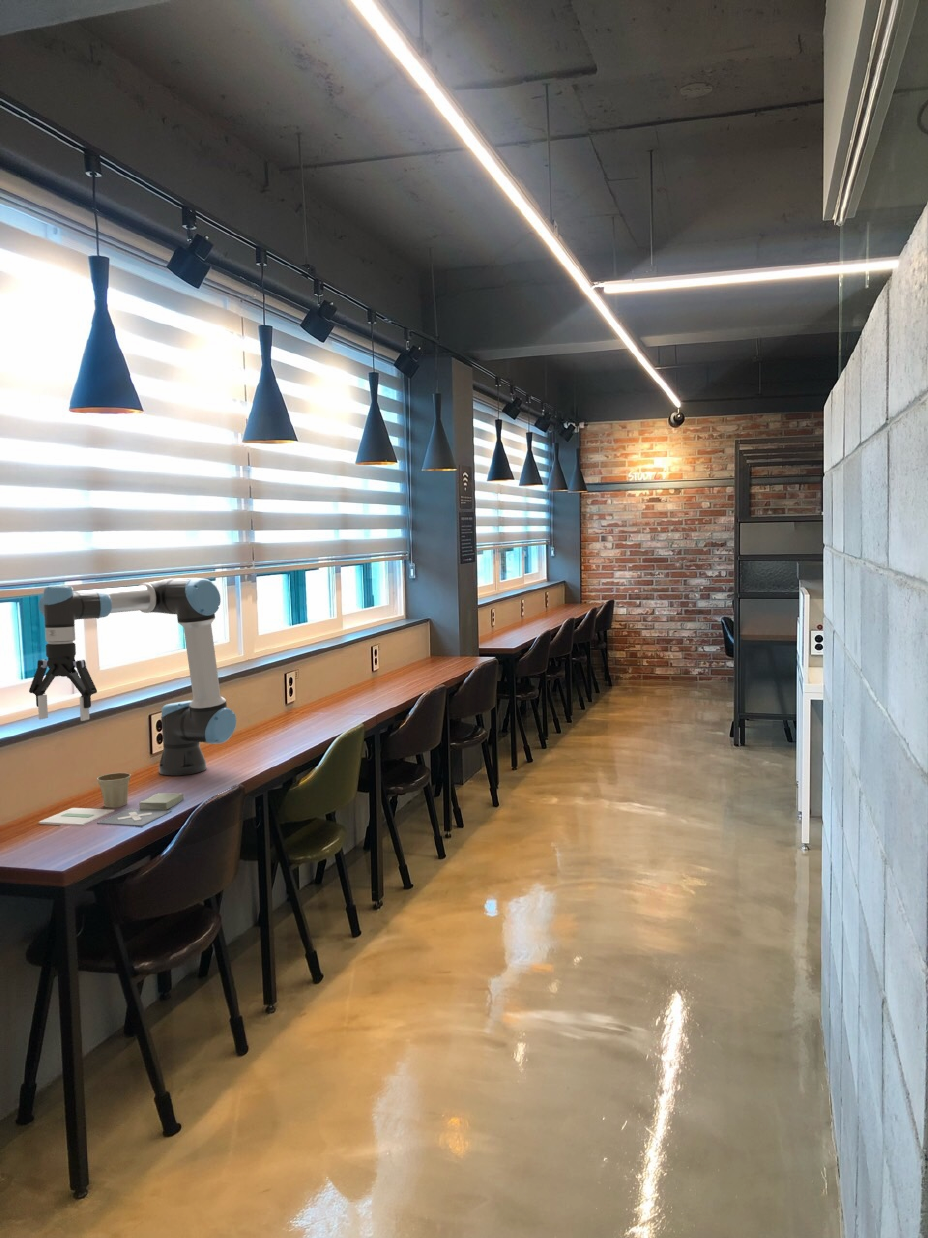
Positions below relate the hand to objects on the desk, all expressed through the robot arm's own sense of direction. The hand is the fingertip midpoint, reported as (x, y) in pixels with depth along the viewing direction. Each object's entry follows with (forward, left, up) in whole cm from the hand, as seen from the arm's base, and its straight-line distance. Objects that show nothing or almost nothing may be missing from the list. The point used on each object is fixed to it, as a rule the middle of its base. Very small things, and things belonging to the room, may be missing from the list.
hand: (64, 719), depth 261 cm
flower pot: (-14, +5, -28) cm, 32 cm away
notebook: (-16, +19, -28) cm, 37 cm away
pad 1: (-1, +2, -28) cm, 28 cm away
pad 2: (-3, +19, -28) cm, 34 cm away
